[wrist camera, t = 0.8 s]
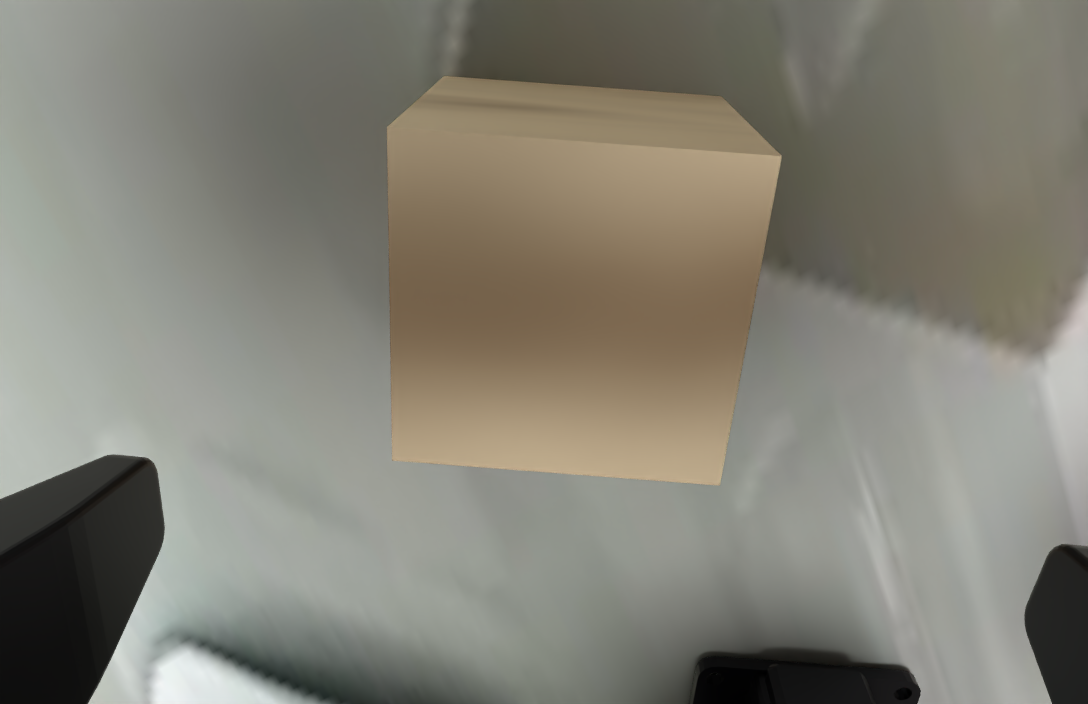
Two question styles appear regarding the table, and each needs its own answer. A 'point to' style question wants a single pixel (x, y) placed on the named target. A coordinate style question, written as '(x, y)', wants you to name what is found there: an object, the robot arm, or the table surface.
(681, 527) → the table surface
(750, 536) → the table surface
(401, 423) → the oak cube
